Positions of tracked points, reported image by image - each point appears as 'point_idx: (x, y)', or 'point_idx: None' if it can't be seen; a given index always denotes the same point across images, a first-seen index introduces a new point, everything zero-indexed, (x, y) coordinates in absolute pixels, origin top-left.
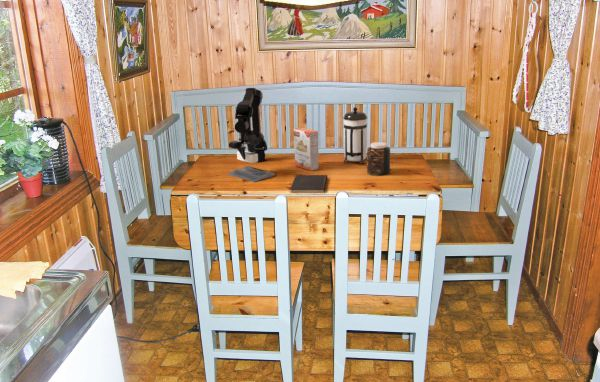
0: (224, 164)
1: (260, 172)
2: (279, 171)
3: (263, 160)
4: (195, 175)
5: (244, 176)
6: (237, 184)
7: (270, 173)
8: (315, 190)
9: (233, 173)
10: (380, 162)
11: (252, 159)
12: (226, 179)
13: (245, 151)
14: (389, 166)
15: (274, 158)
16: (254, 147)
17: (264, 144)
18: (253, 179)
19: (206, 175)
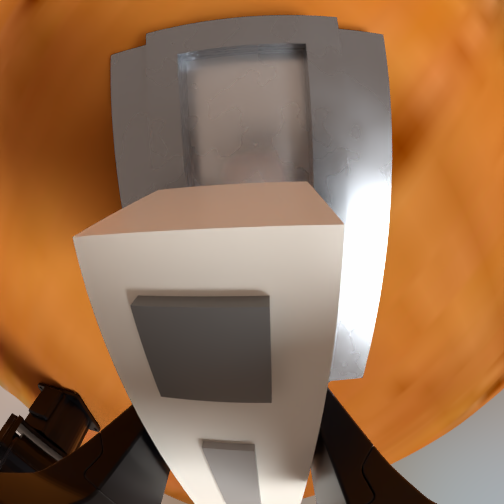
0: None
1: (190, 156)
2: (38, 154)
3: (53, 388)
4: (434, 429)
5: (378, 191)
6: (484, 120)
7: (157, 36)
8: None
9: (363, 337)
10: None
11: (299, 193)
12: (448, 286)
13: (203, 492)
14: None
15: (13, 371)
16: (45, 474)
17: (3, 440)
18: (380, 45)
19: (421, 412)
